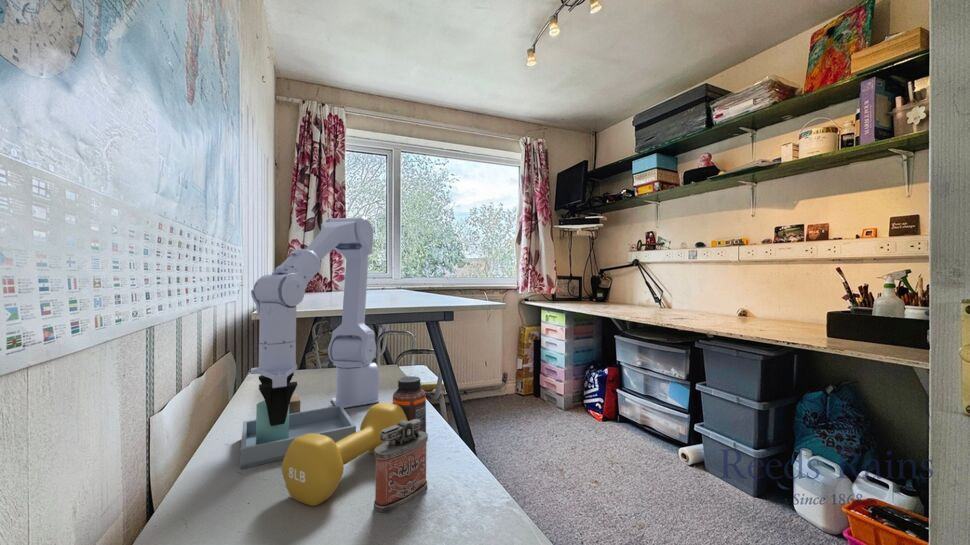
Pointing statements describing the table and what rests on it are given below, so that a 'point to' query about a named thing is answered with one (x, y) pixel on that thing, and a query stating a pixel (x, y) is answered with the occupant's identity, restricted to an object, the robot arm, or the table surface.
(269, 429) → the teal cylinder
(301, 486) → the dumbbell
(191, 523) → the table surface
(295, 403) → the cube
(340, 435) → the tote
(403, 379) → the supplement bottle
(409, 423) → the lighter
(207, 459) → the table surface
